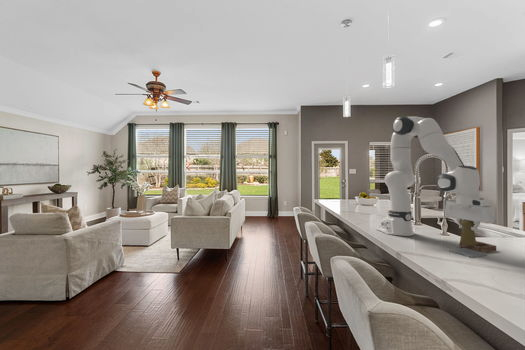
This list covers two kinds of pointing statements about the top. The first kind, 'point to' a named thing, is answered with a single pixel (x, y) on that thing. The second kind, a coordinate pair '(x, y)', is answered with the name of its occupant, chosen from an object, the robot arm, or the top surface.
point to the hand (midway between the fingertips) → (467, 229)
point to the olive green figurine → (467, 233)
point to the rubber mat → (467, 252)
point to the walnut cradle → (480, 247)
